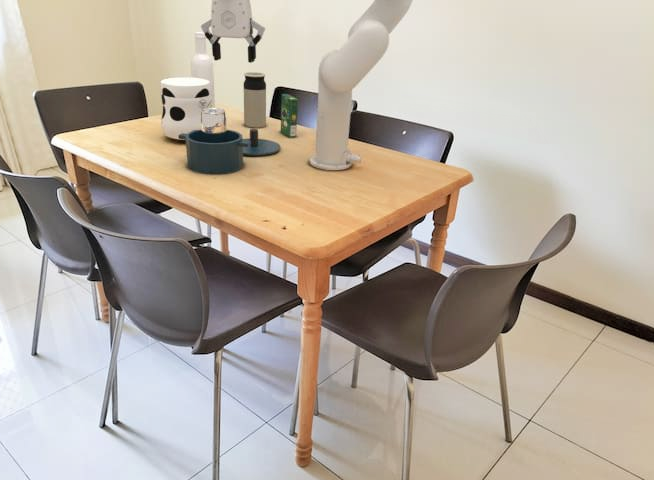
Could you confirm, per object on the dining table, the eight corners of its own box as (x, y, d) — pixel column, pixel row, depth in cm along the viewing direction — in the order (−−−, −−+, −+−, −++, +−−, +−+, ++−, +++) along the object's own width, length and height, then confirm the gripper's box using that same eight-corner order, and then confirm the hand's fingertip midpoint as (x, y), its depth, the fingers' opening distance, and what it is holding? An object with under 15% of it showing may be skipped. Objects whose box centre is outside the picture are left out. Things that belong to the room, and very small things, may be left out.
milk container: (226, 140, 169) (223, 84, 160) (178, 148, 158) (173, 88, 149) (199, 128, 180) (195, 75, 171) (153, 135, 169) (147, 79, 160)
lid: (239, 139, 171) (238, 121, 168) (286, 145, 167) (286, 126, 164) (219, 153, 157) (218, 133, 154) (270, 159, 153) (270, 139, 150)
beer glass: (229, 160, 150) (227, 108, 142) (226, 167, 144) (224, 113, 136) (205, 159, 149) (202, 107, 142) (201, 166, 143) (198, 112, 136)
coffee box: (297, 137, 176) (298, 98, 170) (289, 138, 175) (290, 98, 168) (287, 131, 182) (288, 93, 176) (280, 132, 181) (280, 93, 175)
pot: (194, 153, 155) (192, 125, 151) (259, 161, 151) (258, 133, 147) (169, 168, 142) (166, 138, 138) (239, 178, 138) (239, 147, 134)
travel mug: (262, 129, 183) (261, 76, 174) (241, 126, 185) (240, 74, 176) (268, 123, 190) (268, 73, 181) (248, 121, 192) (247, 71, 183)
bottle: (218, 117, 194) (214, 31, 179) (212, 122, 188) (207, 33, 173) (198, 116, 195) (192, 30, 180) (191, 121, 188) (184, 32, 173)
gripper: (192, -13, 126) (198, 60, 135) (258, -11, 123) (260, 64, 131) (205, -14, 132) (210, 57, 141) (268, -12, 129) (269, 60, 138)
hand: (234, 60), depth 136 cm, fingers open, 9 cm apart
